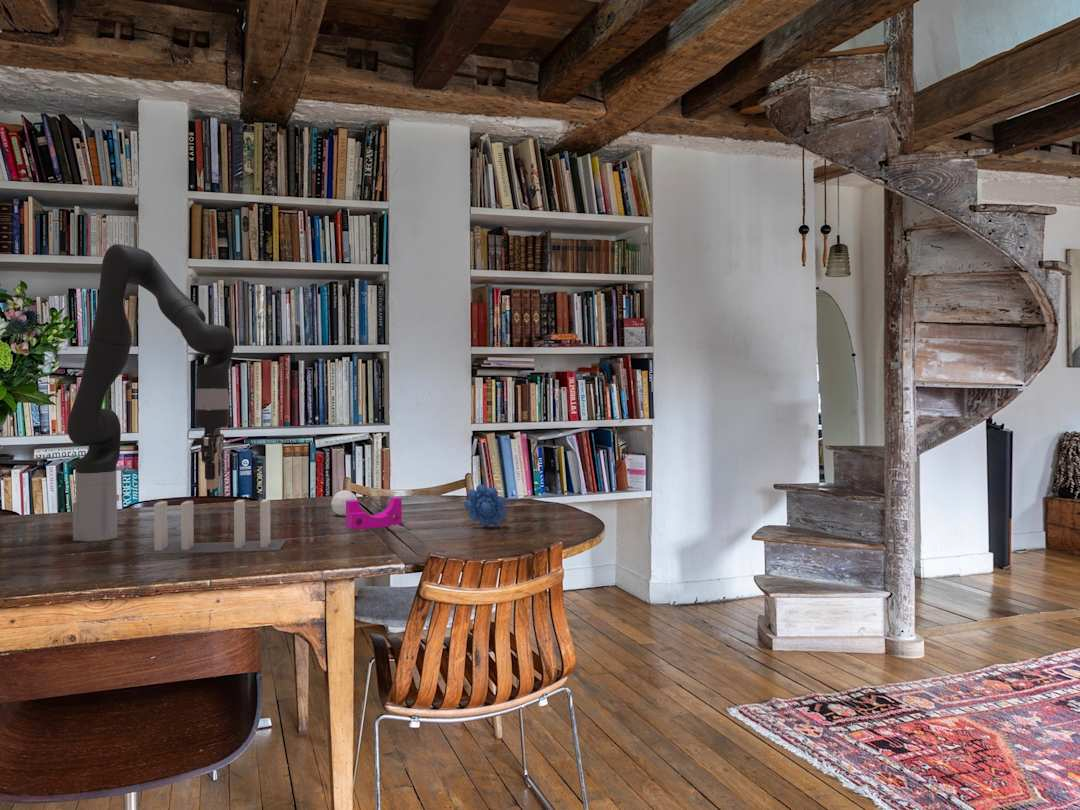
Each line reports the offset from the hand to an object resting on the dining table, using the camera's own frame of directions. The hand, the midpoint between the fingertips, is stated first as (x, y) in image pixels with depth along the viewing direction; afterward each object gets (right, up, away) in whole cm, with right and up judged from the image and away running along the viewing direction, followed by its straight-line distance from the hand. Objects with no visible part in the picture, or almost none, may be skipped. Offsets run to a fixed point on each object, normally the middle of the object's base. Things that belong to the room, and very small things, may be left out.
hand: (212, 477), depth 198 cm
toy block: (+33, -17, +33) cm, 49 cm away
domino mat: (0, -17, +1) cm, 17 cm away
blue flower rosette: (+64, -17, +30) cm, 72 cm away
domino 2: (-6, -17, -1) cm, 18 cm away
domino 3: (0, -2, 0) cm, 2 cm away
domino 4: (+6, -17, +2) cm, 18 cm away
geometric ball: (+20, -16, +50) cm, 56 cm away
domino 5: (+12, -17, +3) cm, 21 cm away
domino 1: (-12, -17, -2) cm, 21 cm away
